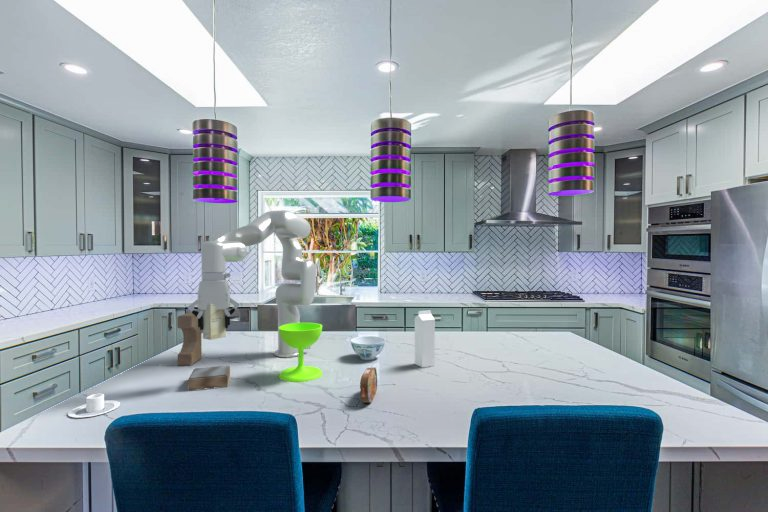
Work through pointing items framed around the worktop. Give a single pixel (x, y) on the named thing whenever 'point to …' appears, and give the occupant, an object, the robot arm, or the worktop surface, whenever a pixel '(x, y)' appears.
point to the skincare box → (213, 323)
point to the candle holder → (94, 405)
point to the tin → (368, 385)
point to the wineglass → (300, 349)
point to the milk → (424, 339)
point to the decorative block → (189, 339)
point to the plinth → (209, 377)
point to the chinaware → (368, 346)
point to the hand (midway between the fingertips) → (214, 328)
